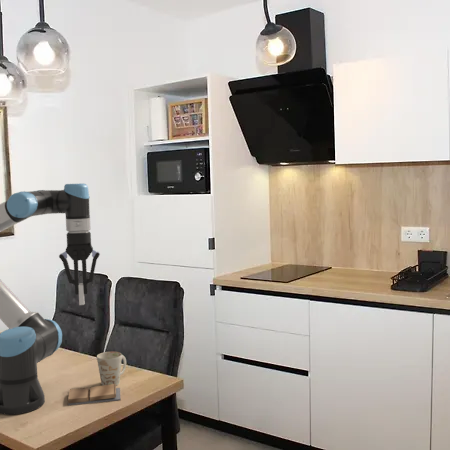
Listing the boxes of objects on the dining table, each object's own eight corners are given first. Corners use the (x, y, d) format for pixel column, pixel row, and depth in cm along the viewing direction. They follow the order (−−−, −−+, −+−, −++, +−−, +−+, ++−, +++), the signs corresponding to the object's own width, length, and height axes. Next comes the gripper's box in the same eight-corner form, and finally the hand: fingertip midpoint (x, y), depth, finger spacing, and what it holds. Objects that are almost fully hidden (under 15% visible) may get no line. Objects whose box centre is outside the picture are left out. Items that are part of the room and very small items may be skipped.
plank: (90, 400, 181) (89, 397, 181) (91, 390, 190) (90, 386, 190) (116, 397, 183) (115, 393, 183) (115, 387, 192) (115, 383, 192)
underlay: (68, 405, 180) (68, 404, 180) (70, 393, 190) (70, 392, 189) (120, 400, 183) (120, 398, 183) (120, 388, 193) (119, 387, 193)
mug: (92, 386, 196) (91, 357, 195) (116, 374, 207) (115, 346, 206) (112, 389, 192) (111, 360, 191) (135, 377, 203) (134, 349, 202)
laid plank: (68, 403, 180) (68, 399, 180) (70, 392, 189) (70, 389, 189) (89, 401, 181) (88, 397, 181) (90, 391, 190) (89, 387, 190)
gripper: (56, 233, 181) (60, 308, 183) (99, 231, 183) (102, 305, 185) (58, 231, 188) (62, 302, 190) (99, 229, 191) (102, 300, 193)
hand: (81, 304), depth 188 cm, fingers closed
